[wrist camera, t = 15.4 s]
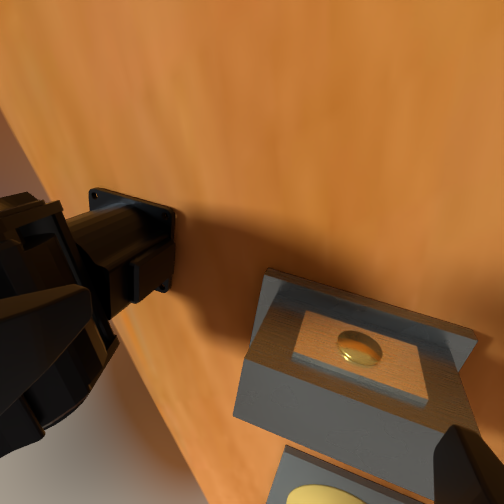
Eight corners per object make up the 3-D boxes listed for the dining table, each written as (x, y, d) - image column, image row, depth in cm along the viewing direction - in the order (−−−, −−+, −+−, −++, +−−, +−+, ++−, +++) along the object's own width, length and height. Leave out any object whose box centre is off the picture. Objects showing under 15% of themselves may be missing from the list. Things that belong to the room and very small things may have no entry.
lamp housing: (253, 339, 23) (212, 421, 17) (268, 267, 20) (226, 334, 14) (428, 401, 20) (455, 525, 14) (472, 329, 18) (529, 444, 12)
